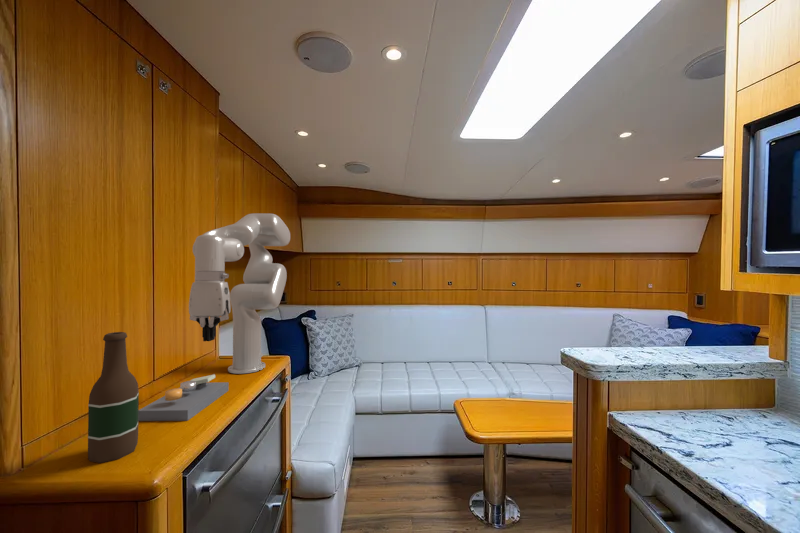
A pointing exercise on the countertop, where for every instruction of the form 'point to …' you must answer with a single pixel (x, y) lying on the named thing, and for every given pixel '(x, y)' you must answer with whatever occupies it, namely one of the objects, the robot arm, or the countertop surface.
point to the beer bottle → (113, 405)
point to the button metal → (188, 386)
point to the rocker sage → (203, 379)
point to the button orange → (173, 394)
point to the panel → (183, 403)
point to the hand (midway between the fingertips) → (209, 340)
